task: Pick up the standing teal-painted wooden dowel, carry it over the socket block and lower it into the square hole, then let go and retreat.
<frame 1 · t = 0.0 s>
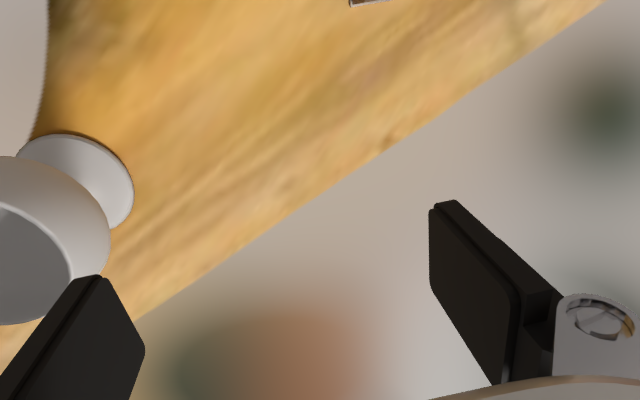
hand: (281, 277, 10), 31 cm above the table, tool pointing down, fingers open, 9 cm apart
chalice: (77, 185, 40), on the table
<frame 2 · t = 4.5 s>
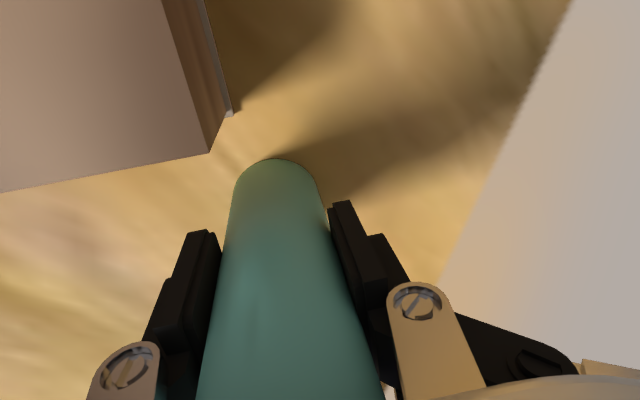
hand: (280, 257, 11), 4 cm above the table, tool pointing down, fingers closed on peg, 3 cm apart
peg: (276, 198, 15), on the table, touching gripper
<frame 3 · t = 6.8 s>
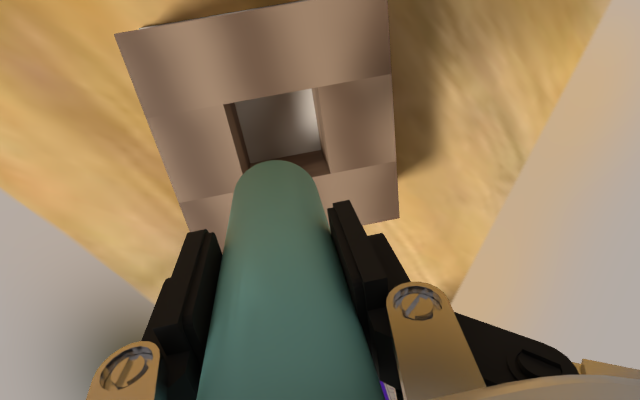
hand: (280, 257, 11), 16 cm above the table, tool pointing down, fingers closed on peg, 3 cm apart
socket block: (278, 120, 26), on the table
peg: (276, 199, 15), point 12 cm above the table, touching gripper
when the fingers open (6 cm above the table, at t = 8.9 s): peg drops 2 cm, resting on socket block.
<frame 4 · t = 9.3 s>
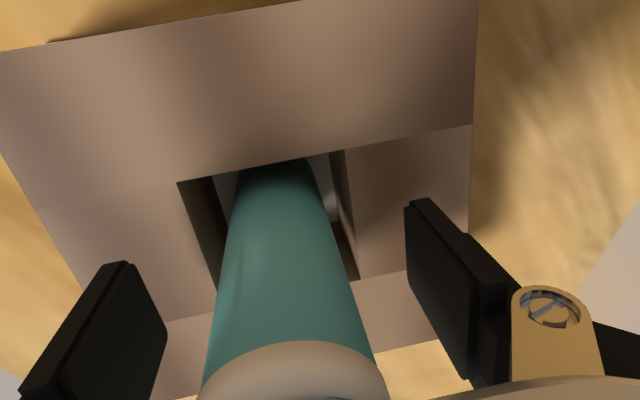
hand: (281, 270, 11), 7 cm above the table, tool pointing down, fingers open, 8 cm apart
socket block: (274, 180, 17), on the table
peg: (276, 183, 17), resting on socket block
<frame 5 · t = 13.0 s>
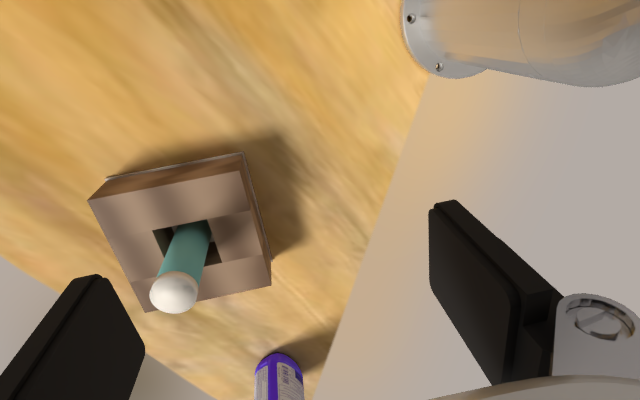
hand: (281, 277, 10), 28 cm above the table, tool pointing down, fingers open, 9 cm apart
bottle: (278, 364, 53), on the table
socket block: (196, 222, 40), on the table
peg: (196, 224, 40), resting on socket block
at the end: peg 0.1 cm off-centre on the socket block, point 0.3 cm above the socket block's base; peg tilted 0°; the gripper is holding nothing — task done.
